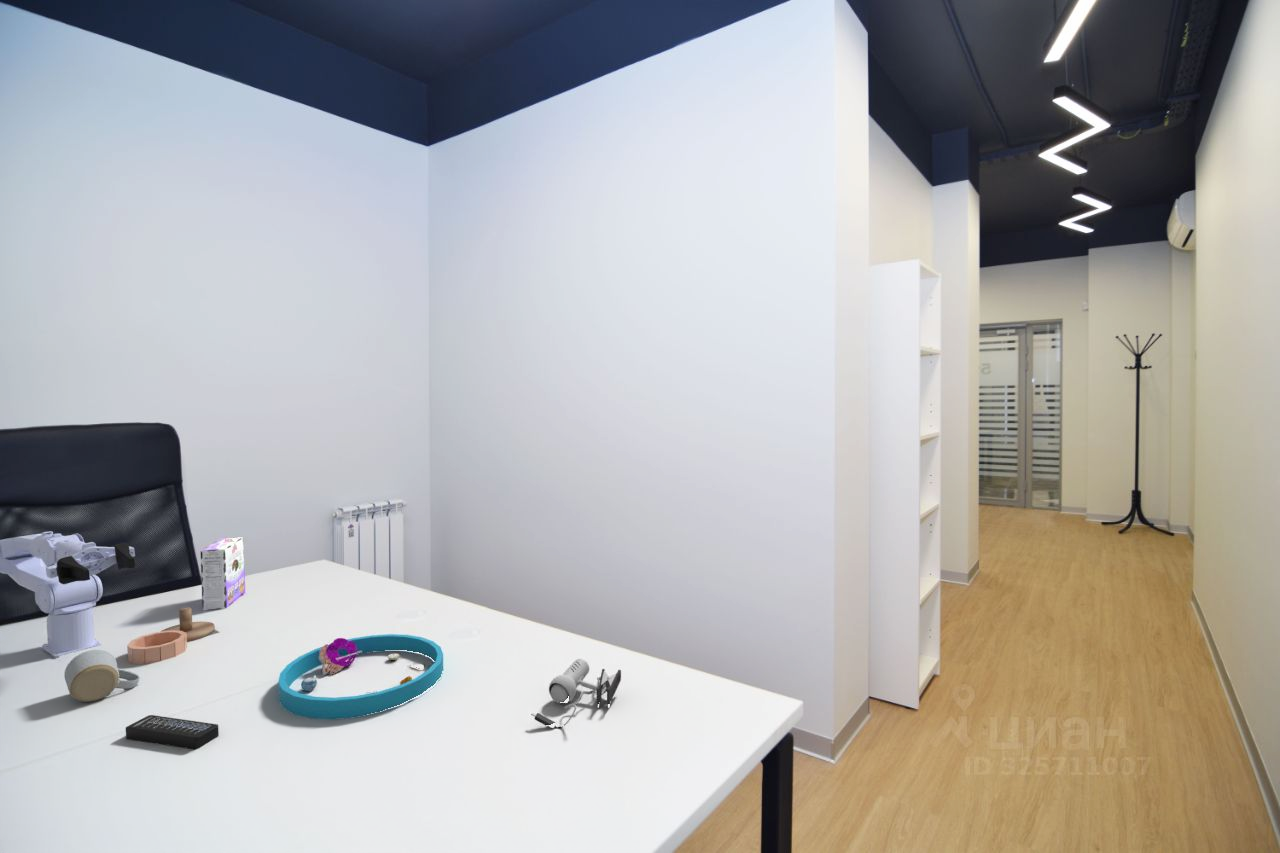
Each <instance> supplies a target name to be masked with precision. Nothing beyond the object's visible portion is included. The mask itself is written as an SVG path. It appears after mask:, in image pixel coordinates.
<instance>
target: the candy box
mask: <svg viewBox="0 0 1280 853" xmlns="http://www.w3.org/2000/svg"><path fill="white" fill-rule="evenodd" d="M244 547H245V546H244V537H243V536H239V537H237V536H236V537H221V538H219V539H218V540H216V541H214V542H213V543H212V544H209V545H208V546H206V547H205V548H203V549H200V573H201V574H200V575H201V576H200V577H201V579H200V580H201V603H202V604H201V606H202V608H201V609H202V611H210V610H211V611H213V610H226V609H228V608H229V607H230V606H231V605H232V604H234V603H235V602H236V601H237V600H238V599H239V598H241V597H243V595H245V594H246V575H245V549H244Z"/></svg>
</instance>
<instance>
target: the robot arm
mask: <svg viewBox="0 0 1280 853" xmlns="http://www.w3.org/2000/svg"><path fill="white" fill-rule="evenodd" d="M135 552H136V551H135V547H133V546H130V545H129V543H127V542H121V543H117V544H114V545H113V546H110V547H109V546H97V544H96V543H95V541H94V542H93V541H91V542H85V540H84V537H83V536H82V535H81V534H79V533H78V532H77V533H74V534H71V535H62V533H54V532H53V531H52V530H51V531H44V532H42V533H36V534H35V533H34V534H28V535H23V536H21V535H20V536H15V537H9V538H4V539H0V573H1V574H3V575H8V576H9V577H10V578H11V579H12V580H13V581H14V582H15V583H16V584H18V586H20V587H23V588H25V589H27V590H29V591H32V592H33V593H34V600H35V604H36V605H37V606H38V608H39V610H40V611H41V612H43V613H45V614H48V615H47V617H46V630H47V631H46V632H47V633H46V634H47V644H43V645H42V646H41V648H42V650H44V651H45V652H47V653H49V654H50V655H51V656H52V657H54V658H60V657H62V656H65V655H69V654H72V653H76V652H79V651H83V650H87V649H91V648H94V647H99V646H102V642H100V641H99V640H97V639H95V624H94V608H93V607H95V606H96V605H97V602H98V601H100V600H101V598H102V596H103V590H104V588H103V583H102V580H101V578H100V577H99V576H98V575H97V574H99V573H101V572H102V571H104V570H107V569H108V568H110V567H112V566H113V565H115V564H117V568H118V570H122V569H133V568H135V567H136V564H135V558H134V557H136V553H135Z"/></svg>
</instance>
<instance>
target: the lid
mask: <svg viewBox="0 0 1280 853" xmlns="http://www.w3.org/2000/svg"><path fill="white" fill-rule="evenodd" d="M192 611H193V609H192V607H183V608H180V609H179V610H178V615H179V616H178V618H179V620H178V621H179V624H177V625H176V624H175V625H172V626H169V627H167V628H164V629H162V630H161V631H159V632H162V631H169V630H176V631H183V632H185V633H187V643H189V642H192V641H196V640H200V639H203V638H206V637H208V635H209V634H211V633H213V632H214V630H216V629H215V623H213V622H210V621H193V612H192ZM205 636H206V637H205ZM209 636H210V635H209Z"/></svg>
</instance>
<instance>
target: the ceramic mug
mask: <svg viewBox="0 0 1280 853" xmlns="http://www.w3.org/2000/svg"><path fill="white" fill-rule="evenodd" d="M121 679H123V680H121ZM64 681H65V684H66V686H67V690H68V692H69V694H70V696H71V697H72V698H74V699H75V700H77V701H79V702H83V703H84V702H85V703H90V702H91V703H92V702H95V701H99V700H102V699H104V698H106V697H107V696H109V695H110V694H111V693H112V692H114V690H115V689H122V690H125V689H134V688H135V687H137V686H138V683H139V681H140V676H139V675H138V674H136V673H135V672H132V671H129V670H125V669H121V668H118V663H117V658H116V657H115V656H114V654H112V653H111V652H109V651H107V650H102V649H92V650H87V651H84V652H81V653H79V654H78V655H76V656H75V657H74V658H72V659H71V660H70V661H69V662H68V663H67V665H66V667H65V670H64Z"/></svg>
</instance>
